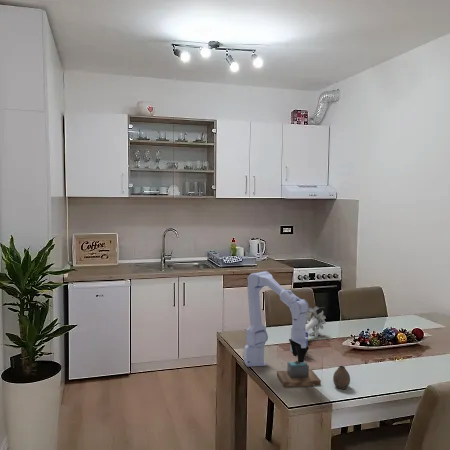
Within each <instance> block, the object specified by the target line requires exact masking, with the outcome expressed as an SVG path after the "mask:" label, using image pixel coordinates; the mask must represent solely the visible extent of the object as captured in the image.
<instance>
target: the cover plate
mask: <svg viewBox="0 0 450 450" xmlns="http://www.w3.org/2000/svg"><path fill="white" fill-rule="evenodd" d="M305 362H306V361H304V362H300V363H299V362H298V360H295V361H289V362H288V363H289V364H290V365H291V367H295V366H306V363H307V362H306V363H305Z"/></svg>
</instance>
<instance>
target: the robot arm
mask: <svg viewBox="0 0 450 450" xmlns="http://www.w3.org/2000/svg"><path fill="white" fill-rule="evenodd" d="M246 280H247V289H246V291H247V297H248V298H247V300H248V312H249V324H250V325H249V326H248V328H247V329H246V335H245V341H246V345H244V347H243V348H244V349H243V350H244V351H243V362H244V364H245V365H246V367H248V368H249V367H265V366H267V364H266V361H265V345H266V342H267V341H268V338H269V336H268V332H267V328H266V326H265V325H264V324H263V322H262V311H261V309H262V308H261V300H260V299H261V298H260V291H261V290H262V289H263V288H264V287H268V288H269V289H270V290H272V291H273V292H274V293H276V294H277V295H278V296H279V300H280V301H281V302H282V303H284V304H285V305H286V306H287V307H288V308H289V311H290V313H291V318H292V321H291V322H292V325H291V328H292V339H291V338H289V339H288V341H289V345H290V344H291V347H292V352H293V353H292V352H291V353H292V355H293V357H297V356H298V357H297V361H298V362H299V363H300V362H305V359H306V357H305V355H306V353H307V354H308V351H309V349H310V347H309V346H306V340H308V341H309V337H308V338H307V337H305V334H306V324H307V322H306V319H307V318H306V315H307V314H306V312H307V311H308V310H309V308H310V305H309V303H308V301H307V300H306V299H304V298H303V299H302V298H300V297H299V296H296V294H294V293H293V291H292V290H291V289H284V287H282V286H281V284H279V282H277V281H276V279H275V278H274V277H273V274H272V273H270V272H269V271H267V270H264V271H260V272H252V273H250V274H249V275H248V276H247V279H246ZM308 312H309V311H308Z"/></svg>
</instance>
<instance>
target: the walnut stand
mask: <svg viewBox="0 0 450 450" xmlns="http://www.w3.org/2000/svg"><path fill="white" fill-rule="evenodd" d="M276 377H277V378H278V380H279V381H280V383H281V385H282V384H283V385H282V387H284V388H288V387H287V386H293V387H307V386H309V387H310V386H312V387H313V386H321V384H322V383H321V382H322V380H321V379H320V378H319V376H318V375H317V374H316V373H315V372H314V371H313V370H312V368H311V369H310V368H309V378H290V377H289V375H288V374H287V370H276Z"/></svg>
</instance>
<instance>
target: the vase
mask: <svg viewBox="0 0 450 450" xmlns="http://www.w3.org/2000/svg"><path fill="white" fill-rule="evenodd" d="M332 381H333V384H334V386H335V388H337V389H339V390H345V389H347V388H348V387H349V386H350V384H351V375H350V373H349V372H348V371H347V369H346V367H345V366H344V365H339V366H338V368H337V369H336V370H335V371H334V373H333V377H332Z"/></svg>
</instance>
